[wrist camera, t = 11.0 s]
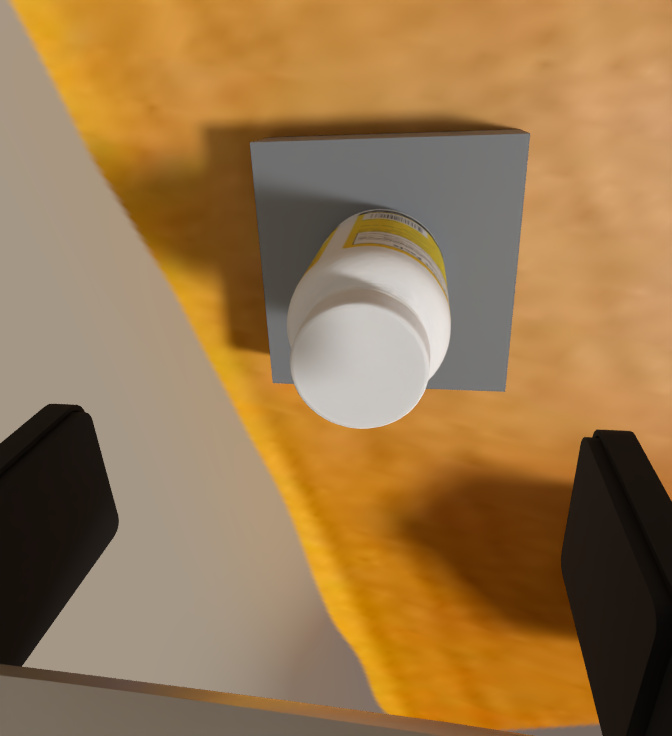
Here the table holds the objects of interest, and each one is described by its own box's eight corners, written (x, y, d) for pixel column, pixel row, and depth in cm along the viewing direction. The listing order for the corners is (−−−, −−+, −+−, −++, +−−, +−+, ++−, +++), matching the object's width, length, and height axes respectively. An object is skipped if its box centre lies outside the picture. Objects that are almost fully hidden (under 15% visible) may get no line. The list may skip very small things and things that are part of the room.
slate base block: (268, 137, 26) (249, 142, 23) (519, 129, 24) (530, 133, 22) (287, 357, 31) (272, 382, 28) (498, 364, 29) (505, 391, 26)
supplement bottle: (353, 345, 27) (315, 471, 18) (298, 239, 25) (227, 322, 16) (465, 301, 25) (483, 415, 16) (415, 183, 23) (405, 241, 14)
